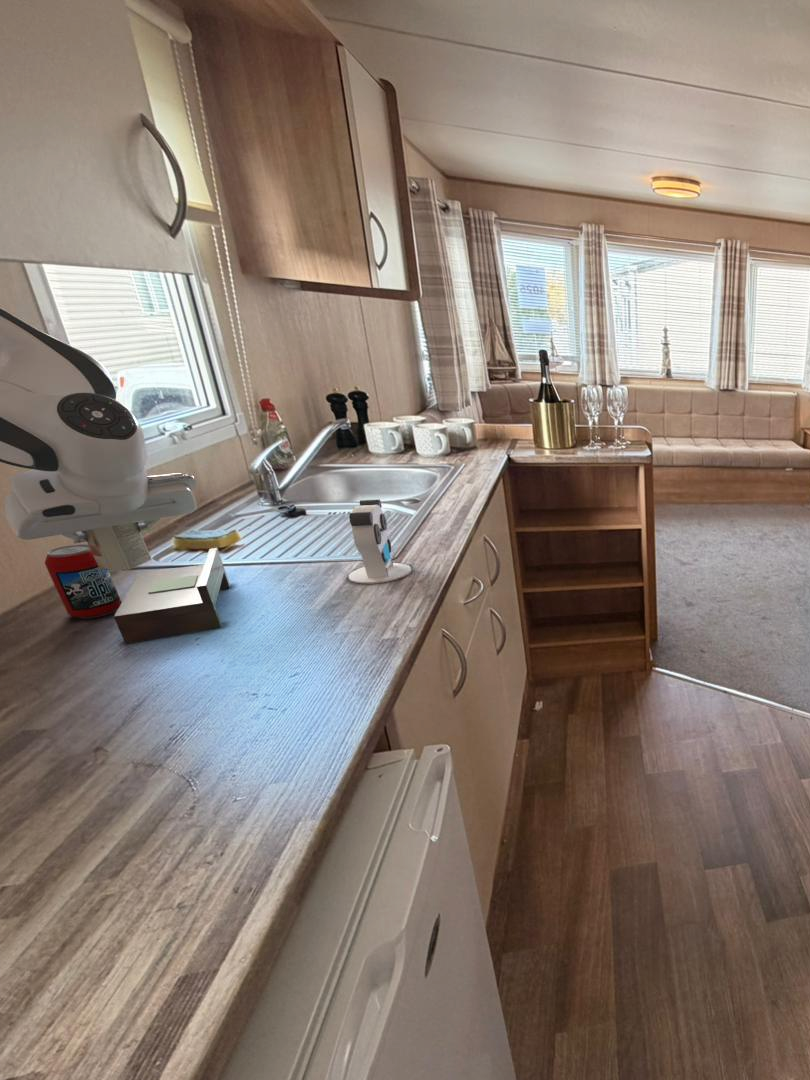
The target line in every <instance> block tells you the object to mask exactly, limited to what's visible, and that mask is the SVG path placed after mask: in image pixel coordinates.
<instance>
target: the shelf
mask: <svg viewBox="0 0 810 1080" xmlns="http://www.w3.org/2000/svg"><path fill="white" fill-rule="evenodd" d="M230 587H231V584H230V581H229V577H228V574H227V572H226V569H225V566H224V563H223V560H222V557H221V554H220V552H219V549H218V547H214V548H213V547H211V548H209V549H208V552H207V555H206V558H205V561H204V564H198V565H197V564H196V565H190V566H182V567H174V568H167V569H159V570H150V571H142V572H138V573H137V574H136V575H135V578H134V580H133V581H132V583H131V584H130V586H129V588H128V590H127V592H126V594H125V596H124V598H123V599H122V600H121V602H122V603H121V605H120V606H119V608H118V609H117V610H116V611H115V612H114V614H113V615H114V616H113V619H114V621H115V623H116V626H117V628H118V631H119V633H120V635H121V637H122V639H123V641H124V644H125V645H127V644H133V643H138V642H145V641H151V640H156V639H162V638H163V639H164V638H167V637H169V638H170V637H173V636H179V635H185V634H192V633H197V632H203V631H210V630H214V629H221V628H222V625H223V623H222V621H221V617H220V615H219V613H218V610H217V607H216V605H217V602H218V601H217V600H218V597H219V594H220V590H225V589H230Z"/></svg>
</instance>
